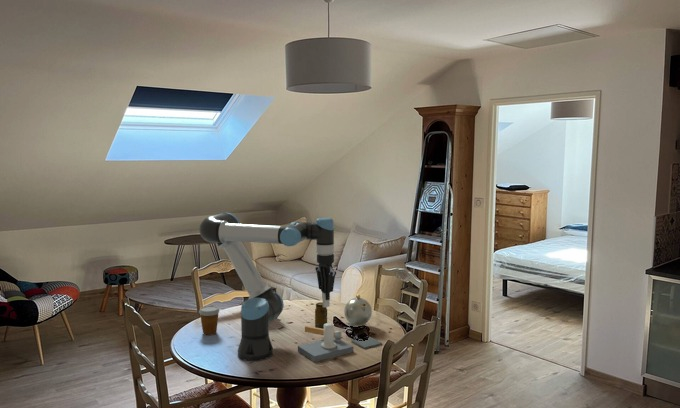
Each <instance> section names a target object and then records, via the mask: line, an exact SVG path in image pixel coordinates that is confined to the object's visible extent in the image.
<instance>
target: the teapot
mask: <svg viewBox="0 0 680 408" xmlns="http://www.w3.org/2000/svg"><path fill="white" fill-rule="evenodd" d="M343 310H344V317H345V319H346V321H347V322H348V326H349V327H350V326H353V327H358V326H362V325H365V326H366V327H367V325H368V322H369V321H370V320H371V317H372V314H373V310H372V306H371V304H370V303H369V302H368V300H366V299H365V298H363V297H361V295H360V294H357V295H355V297H354V298H353V297H352V298H351V299H350V300H348V302H347V303H346V304H345V306H344V309H343Z"/></svg>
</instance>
